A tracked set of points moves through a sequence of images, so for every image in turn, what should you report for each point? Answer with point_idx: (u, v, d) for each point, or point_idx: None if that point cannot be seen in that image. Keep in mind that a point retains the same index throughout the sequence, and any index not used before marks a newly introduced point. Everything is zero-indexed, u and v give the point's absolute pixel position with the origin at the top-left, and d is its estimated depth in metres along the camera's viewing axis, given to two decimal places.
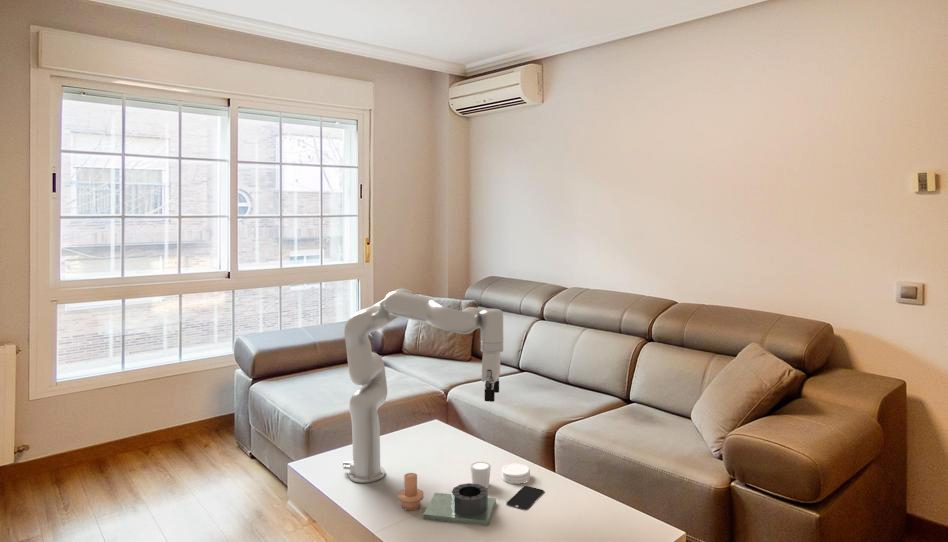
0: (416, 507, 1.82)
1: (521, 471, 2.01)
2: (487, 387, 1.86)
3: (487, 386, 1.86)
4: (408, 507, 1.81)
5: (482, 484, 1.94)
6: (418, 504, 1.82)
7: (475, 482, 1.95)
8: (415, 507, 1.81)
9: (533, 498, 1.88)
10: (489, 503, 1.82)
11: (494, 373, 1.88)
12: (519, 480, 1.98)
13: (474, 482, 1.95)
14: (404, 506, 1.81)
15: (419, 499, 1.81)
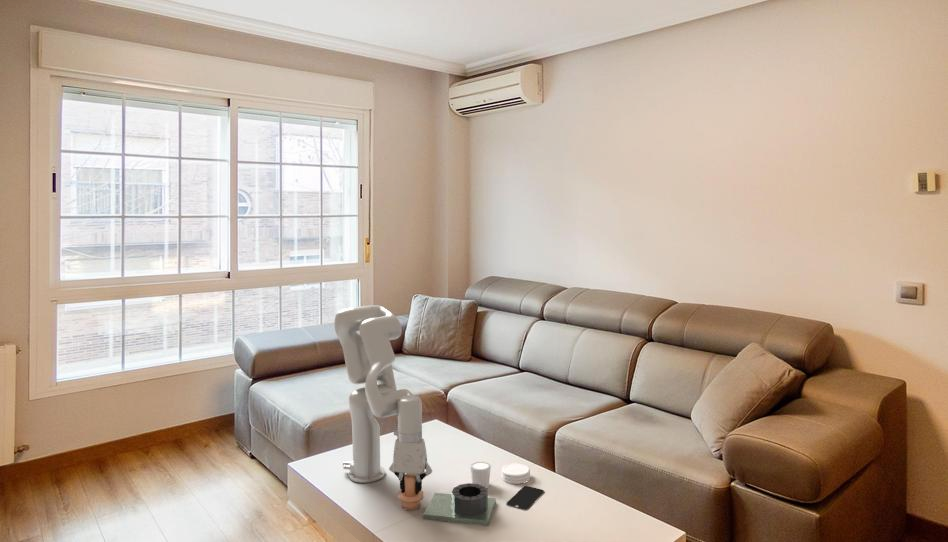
0: (416, 507, 1.82)
1: (521, 471, 2.01)
2: (424, 477, 1.81)
3: None
4: (408, 507, 1.81)
5: (482, 484, 1.94)
6: (418, 504, 1.82)
7: (475, 482, 1.95)
8: (415, 507, 1.81)
9: (533, 498, 1.88)
10: (489, 503, 1.82)
11: (426, 458, 1.83)
12: (519, 480, 1.98)
13: (474, 482, 1.95)
14: (404, 506, 1.81)
15: (419, 499, 1.81)
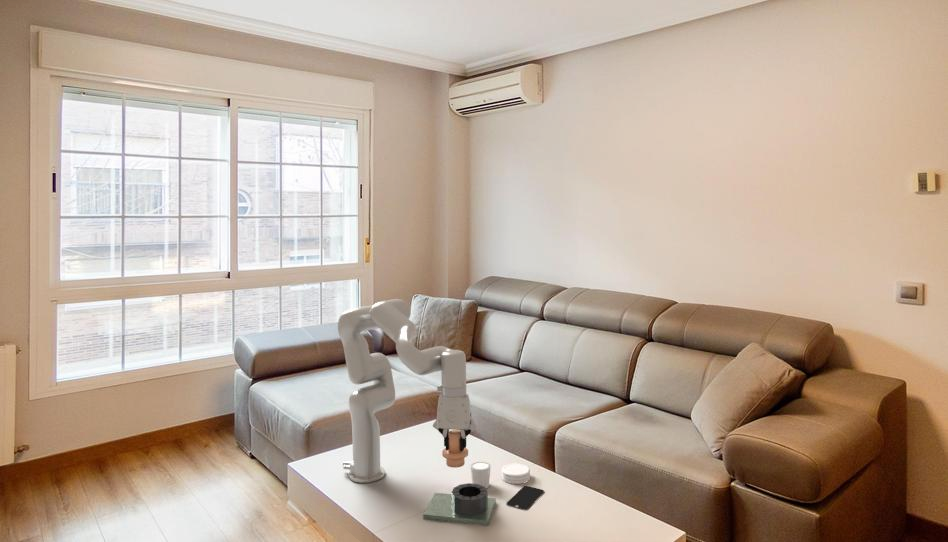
0: (461, 464, 1.77)
1: (521, 471, 2.01)
2: (468, 434, 1.77)
3: None
4: (453, 464, 1.76)
5: (482, 484, 1.94)
6: (463, 461, 1.78)
7: (475, 482, 1.95)
8: (460, 464, 1.77)
9: (533, 498, 1.88)
10: (489, 503, 1.82)
11: None
12: (519, 480, 1.98)
13: (474, 482, 1.95)
14: (449, 463, 1.77)
15: (464, 456, 1.76)
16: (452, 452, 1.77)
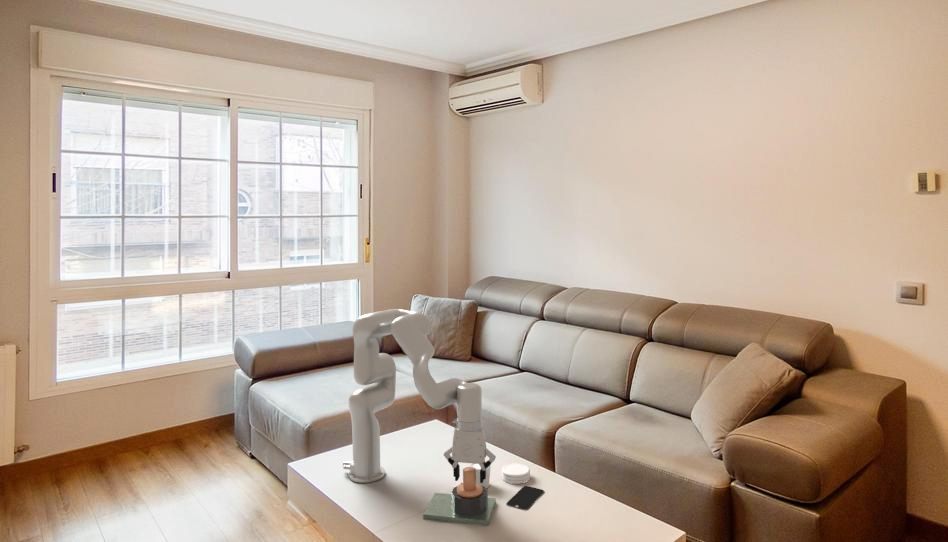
0: None
1: (521, 471, 2.01)
2: (488, 465, 1.77)
3: None
4: None
5: (482, 484, 1.94)
6: None
7: None
8: None
9: (533, 498, 1.88)
10: (489, 503, 1.82)
11: None
12: (519, 480, 1.98)
13: None
14: None
15: (479, 494, 1.76)
16: (467, 490, 1.77)
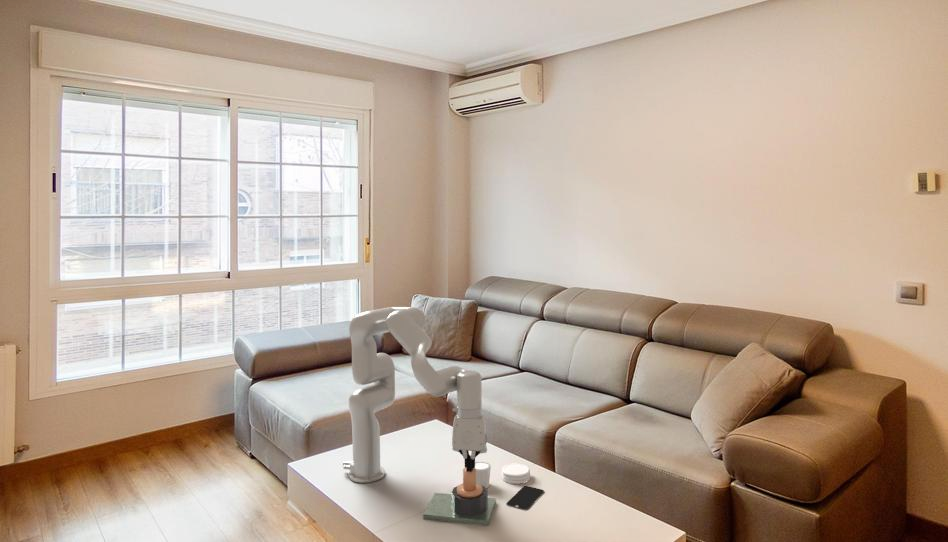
0: None
1: (521, 471, 2.01)
2: (477, 454, 1.77)
3: None
4: None
5: (482, 484, 1.94)
6: None
7: None
8: None
9: (533, 498, 1.88)
10: (489, 503, 1.82)
11: None
12: (519, 480, 1.98)
13: None
14: None
15: (479, 494, 1.76)
16: (467, 490, 1.77)
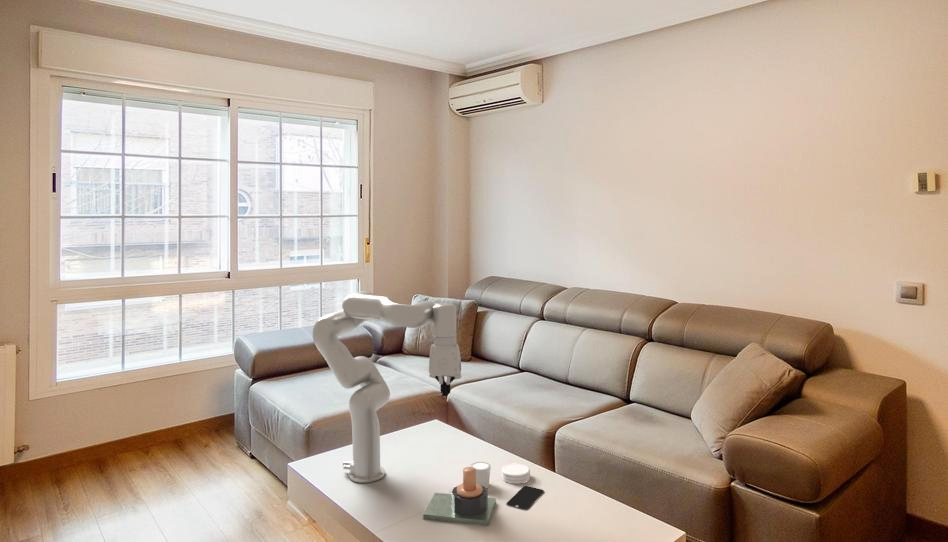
0: None
1: (521, 471, 2.01)
2: (452, 380, 1.91)
3: None
4: None
5: (482, 484, 1.94)
6: None
7: None
8: None
9: (533, 498, 1.88)
10: (489, 503, 1.82)
11: None
12: (519, 480, 1.98)
13: None
14: None
15: (479, 494, 1.76)
16: (467, 490, 1.77)
